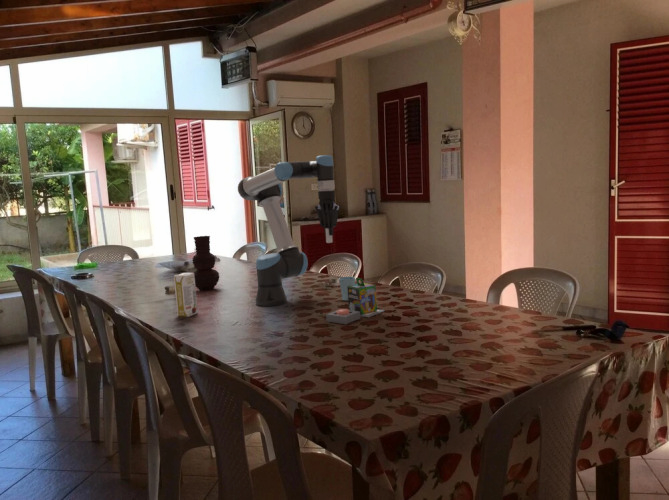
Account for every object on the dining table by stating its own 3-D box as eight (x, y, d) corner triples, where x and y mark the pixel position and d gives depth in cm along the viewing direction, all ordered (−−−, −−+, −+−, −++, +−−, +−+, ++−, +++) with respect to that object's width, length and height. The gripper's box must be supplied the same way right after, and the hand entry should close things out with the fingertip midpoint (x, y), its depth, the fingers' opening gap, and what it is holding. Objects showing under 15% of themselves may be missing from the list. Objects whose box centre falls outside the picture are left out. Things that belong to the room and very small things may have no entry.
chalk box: (377, 311, 246) (376, 277, 244) (360, 315, 241) (358, 280, 239) (365, 307, 254) (363, 274, 252) (348, 311, 249) (346, 278, 247)
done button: (334, 317, 237) (334, 311, 236) (342, 315, 240) (341, 308, 240) (344, 319, 233) (344, 312, 233) (352, 316, 237) (351, 309, 237)
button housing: (326, 321, 236) (326, 314, 236) (341, 315, 244) (341, 309, 244) (345, 324, 230) (345, 317, 230) (360, 318, 238) (359, 311, 237)
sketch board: (342, 313, 248) (341, 312, 247) (358, 307, 257) (358, 306, 257) (368, 317, 239) (368, 316, 239) (384, 311, 248) (384, 310, 248)
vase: (226, 288, 321) (221, 235, 317) (206, 293, 308) (201, 238, 305) (206, 286, 330) (201, 234, 326) (186, 292, 317) (181, 238, 313)
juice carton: (200, 312, 265) (196, 272, 262) (188, 317, 257) (184, 275, 254) (187, 312, 268) (183, 272, 265) (174, 316, 260) (171, 275, 258)
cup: (359, 299, 273) (357, 278, 272) (344, 301, 270) (343, 280, 269) (352, 296, 280) (350, 275, 279) (337, 299, 277) (336, 278, 276)
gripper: (310, 191, 258) (313, 243, 261) (332, 190, 249) (335, 244, 253) (320, 190, 263) (323, 241, 266) (343, 189, 255) (345, 241, 258)
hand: (329, 242), depth 259 cm, fingers closed
